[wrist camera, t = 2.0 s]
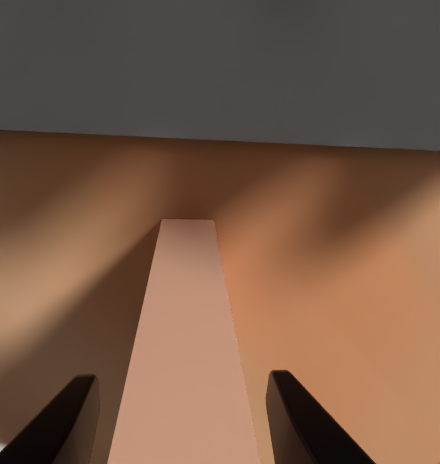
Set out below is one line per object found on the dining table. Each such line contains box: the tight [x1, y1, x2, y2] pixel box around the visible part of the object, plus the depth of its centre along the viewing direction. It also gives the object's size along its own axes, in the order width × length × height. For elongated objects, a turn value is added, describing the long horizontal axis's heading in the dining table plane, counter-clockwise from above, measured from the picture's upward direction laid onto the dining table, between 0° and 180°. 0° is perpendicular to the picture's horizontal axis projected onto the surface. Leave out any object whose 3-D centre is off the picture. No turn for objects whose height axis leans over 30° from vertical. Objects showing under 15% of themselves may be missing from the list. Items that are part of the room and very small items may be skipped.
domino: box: [107, 219, 261, 464], centre depth 6 cm, size 5×2×10 cm, turn 177°
